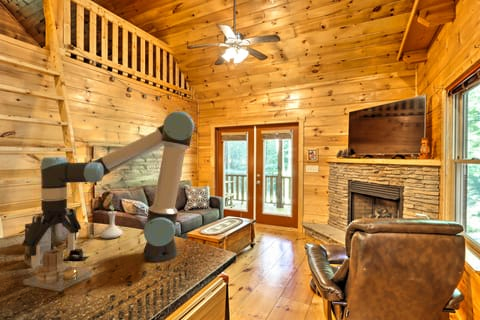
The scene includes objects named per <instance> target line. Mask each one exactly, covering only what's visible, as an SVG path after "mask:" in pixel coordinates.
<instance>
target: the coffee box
mask: <svg viewBox="0 0 480 320" xmlns="http://www.w3.org/2000/svg"><path fill="white" fill-rule="evenodd" d="M41 223H42V222H41ZM31 224H32V222H30V223H25V224H24V238H25V237H26V235H27V233H28V231H29V228H30V226H31ZM39 228H40V227H39ZM51 244H52V243H51V227H50V228H48V229H47V231H46V232H45V234H44V235H43V237H42V238H41V240H40V241H39V243H38V244H37V245H40V264H39V265H34V264H31V256H30V255H29V246H24V263H25V264H26V265H28V266H29V267H30V268H32V269H34V268H37V267H38V268H39V267H40V266H43V253H44V252H46V251H49V250H52V246H51Z"/></svg>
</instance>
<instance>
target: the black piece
mask: <svg viewBox="0 0 480 320" xmlns="http://www.w3.org/2000/svg"><path fill="white" fill-rule="evenodd" d="M65 258H66V259H65ZM65 258H63V261H72V263H73V262H75V263H76V262H85V261H87V259H88V258H90V256H89V255H87V256H86V255H85V256H84V251H83V248H75V250H69V253H68V256H67V257H65Z"/></svg>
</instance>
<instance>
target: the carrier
mask: <svg viewBox="0 0 480 320" xmlns="http://www.w3.org/2000/svg"><path fill="white" fill-rule="evenodd" d="M91 275H93V270H92V269H88V268H83V267H77V266H69V268H67V269H65V270H64V271H63V276H61V277H57V278H55V279H50V280H46V279H45V280H39V279H37V278H36V274H34V275H32V276H29V277H28V278H26V279H23V281H22V282H23V283H22V284H23V286H29V287H35V288H38V289H40V288H41V289H44V290H45V289H46V290H52V291H56V292H62V291H64V290H66V289H68V288H69V287H71V286H73V285H75V284H76V283H78V282H79V281H82V280H83V279H84V280H85V278H87V277H89V276H91Z"/></svg>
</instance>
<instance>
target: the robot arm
mask: <svg viewBox="0 0 480 320" xmlns="http://www.w3.org/2000/svg"><path fill="white" fill-rule="evenodd" d="M194 131H195V123H194V120H193V118H192V117H191V116H190V115H189V114H188V113H187V112H185V111H180V110H176V111H173V112H171V113H168V114H167V115H166V117H165V119H164V120H163V124H162V125H160V126H158V127H156V130H155V131H153V132H151V133H149V134H146V135H145V136H142V137H141V138H139V139H137V140H135V141H132V142H130V143H129V144H126V145H124V146H122V147H120V148H118V149H116V150H114V151H112V152H110V153H108V154H106V155H103V156H101V157H100V158H97V159H96V160H93V161H88V162H85V161H84V162H68V160H67V157H65V156H64V157H60V156H57V157H56V156H55V157H53V156H52V157H51V156H49V157H47V156H46V157H44V158H42V159H41V165H40V166H41V167H40V176H41V178H40V181H41V185H40V186H41V189H40V193H41V200H42V201H41V202H40V203H41V205H40V206H41V212H42V213H41V215H42V216H40V215H34V216H32V220H31V221H32V222H31V223H32V224H31V226H30V228H29V231H28V233H27V235H26V237H25V236H24V239H23V242H22V246H23V247H25V246H29V255H30V256H31V264H34V265H39V264H40V245H37V244H38V243H39V241H40V240H41V238H42V237H43V235H44V234H45V232H46V231H47V229H48V228H50V227H51V225H55V224H60V223H61V224H62V225H63V226H64V227H65V228H66V229H67V230H69V231H70V232H71V233H68V239H67V250H68V251H71V250H75V249H76V240H77V233H79V230H81V228H82V227H81V225H80V223H79V221H78V219H76V217H75V215H74V210H75V209H74V208H69V207H68V199H67V198H68V188H67V187H68V184H69V183H90V184H92V183H99V182H101V181H102V180H103V179H104V177H105V176H106V175H109V174H110V173H112V172H114V171H117V170H118V169H120V168H122V167H124V166H126V165H128V164H130V163H133V162H134V161H136V160H138V159H140V158H143V157H144V156H147V155H148V154H151V153H153V152H155V151H156V150H159V149H160V148H162V147H163V151H162V152H163V153H162V157H161V161H160V162H161V163H160V168H159V174H158V177H157V184H156V188H155V195H154V200H153V204H152V205H151V206H149V207H148V211H147V215H146V221H145V225H144V227H143V228H144V229H143V236H144V239H145V241H146V243H145V245H144V248H143V251H142V258H143V259H144V260H145V261H147V262H157V263H158V262H160V263H161V262H166V261H169V260H172V259H174V258H176V257H177V256H178V247H177V243H176V239H175V234H176V226H177V225H176V224H177V220H178V213H179V211H178V209H177V208H176V204H177V197H178V192H179V186H180V182H181V175H182V171H183V165H184V161H185V160H184V159H185V154H186V150H188V149H189V148H190V147H191V143H192V137H193V133H194ZM67 183H68V184H67ZM65 215H67V217H68V219H69V221H70V222H69V221H68V219H67V218H66V217H65ZM42 221H43V222H42ZM41 222H42V223H41ZM39 227H40V228H39Z"/></svg>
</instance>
